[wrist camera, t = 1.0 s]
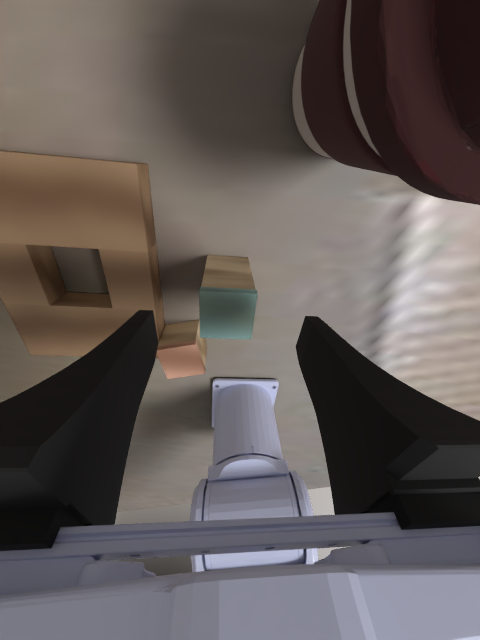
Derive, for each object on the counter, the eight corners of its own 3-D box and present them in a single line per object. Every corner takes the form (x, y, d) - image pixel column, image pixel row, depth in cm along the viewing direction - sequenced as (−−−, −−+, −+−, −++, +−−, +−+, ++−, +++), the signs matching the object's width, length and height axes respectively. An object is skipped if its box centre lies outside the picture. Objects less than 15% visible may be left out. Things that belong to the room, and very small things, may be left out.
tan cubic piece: (207, 346, 26) (204, 373, 23) (175, 351, 26) (168, 379, 23) (199, 318, 24) (195, 344, 21) (164, 324, 24) (154, 350, 21)
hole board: (166, 342, 26) (161, 358, 23) (47, 338, 25) (30, 354, 22) (147, 163, 17) (136, 163, 15) (-39, 146, 16) (-79, 143, 14)
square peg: (244, 293, 23) (251, 339, 17) (206, 291, 23) (199, 337, 17) (248, 256, 21) (257, 293, 15) (207, 254, 21) (199, 290, 15)
